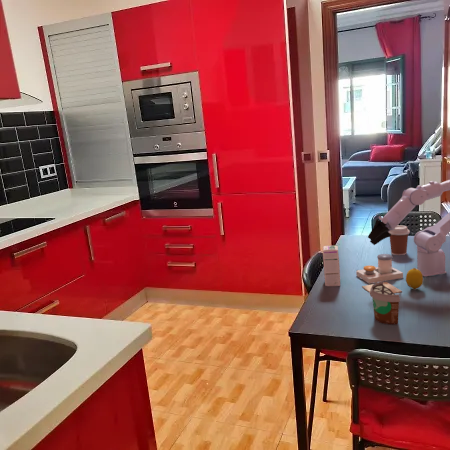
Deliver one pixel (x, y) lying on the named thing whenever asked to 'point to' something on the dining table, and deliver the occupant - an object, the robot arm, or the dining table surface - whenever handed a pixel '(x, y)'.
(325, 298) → the dining table surface
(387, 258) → the cylinder
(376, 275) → the beige flat frame
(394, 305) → the food container
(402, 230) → the coffee cup
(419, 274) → the lemon
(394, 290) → the birch board
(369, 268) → the orange dome button
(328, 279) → the syrup box
